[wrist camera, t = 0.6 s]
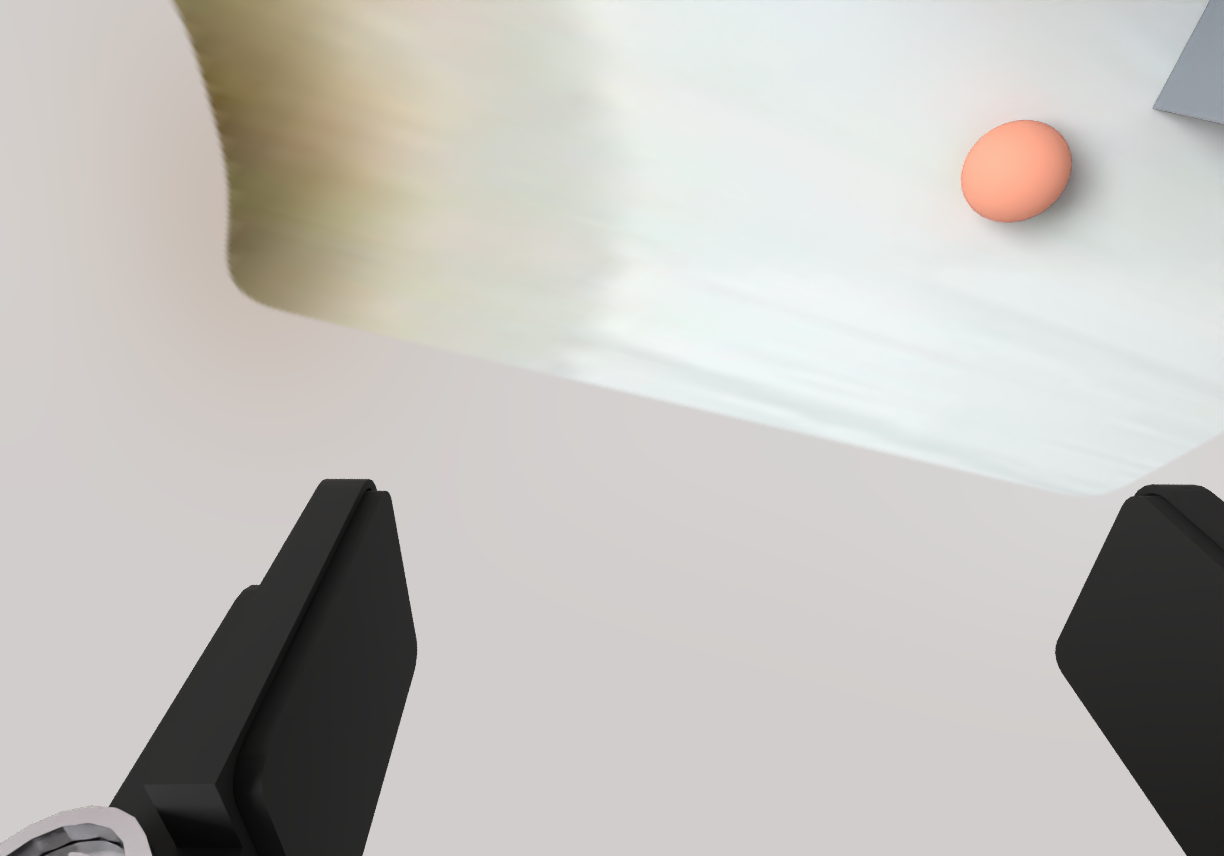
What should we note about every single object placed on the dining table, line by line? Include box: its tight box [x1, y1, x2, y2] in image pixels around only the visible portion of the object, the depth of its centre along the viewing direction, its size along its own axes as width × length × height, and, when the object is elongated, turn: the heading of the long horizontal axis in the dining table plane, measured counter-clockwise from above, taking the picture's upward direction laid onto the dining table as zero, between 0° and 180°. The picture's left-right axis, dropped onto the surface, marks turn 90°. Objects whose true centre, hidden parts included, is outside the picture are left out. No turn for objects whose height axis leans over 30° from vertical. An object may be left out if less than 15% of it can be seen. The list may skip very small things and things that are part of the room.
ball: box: [961, 120, 1072, 222], centre depth 37 cm, size 5×5×5 cm
